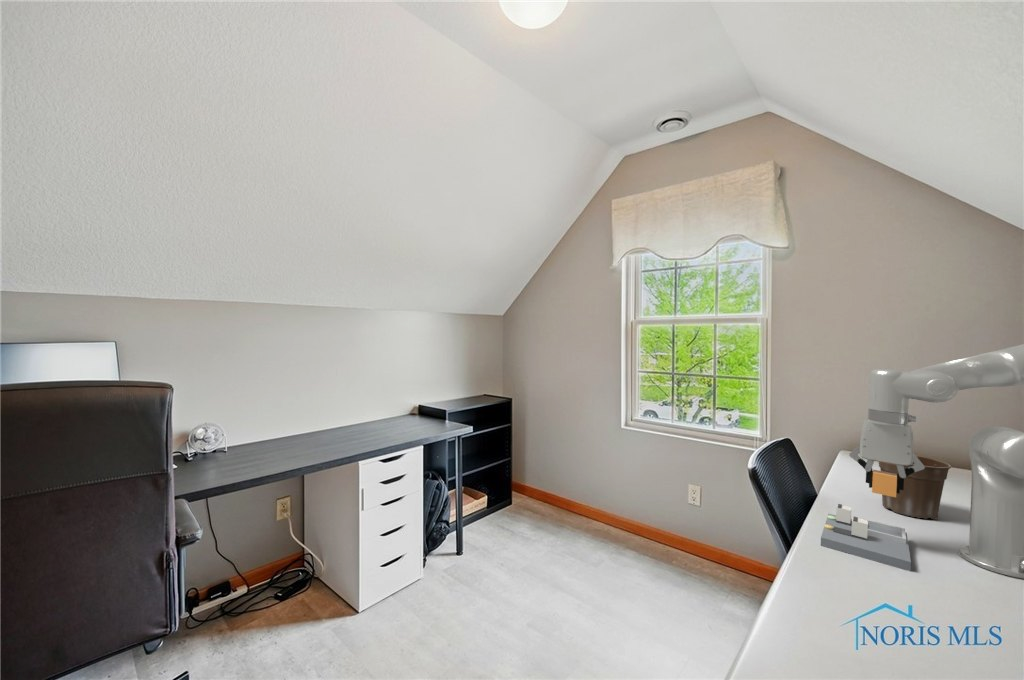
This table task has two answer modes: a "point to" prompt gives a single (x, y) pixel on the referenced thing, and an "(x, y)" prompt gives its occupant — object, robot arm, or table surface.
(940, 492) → the plant pot
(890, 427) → the robot arm
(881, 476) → the cap
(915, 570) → the table surface
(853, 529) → the cube with dark stripe
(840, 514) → the toggle
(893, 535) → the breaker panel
